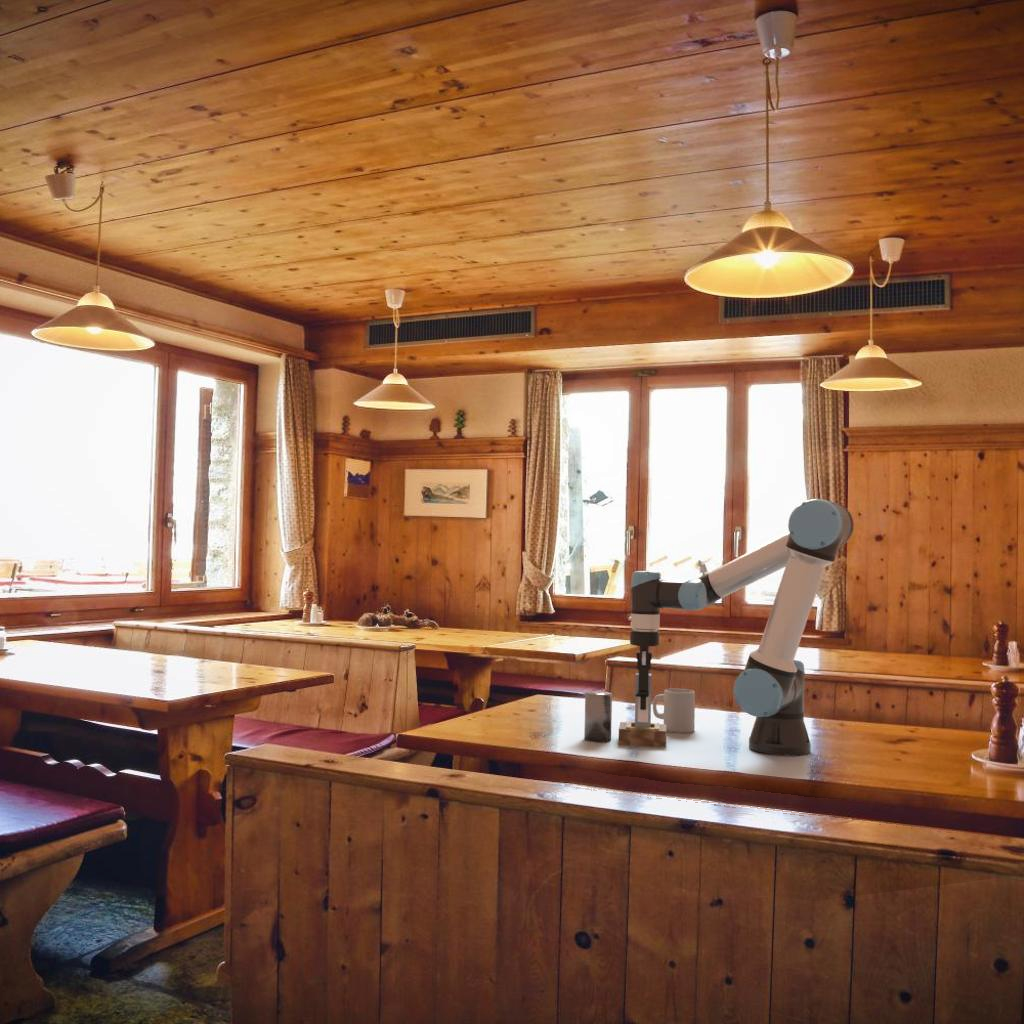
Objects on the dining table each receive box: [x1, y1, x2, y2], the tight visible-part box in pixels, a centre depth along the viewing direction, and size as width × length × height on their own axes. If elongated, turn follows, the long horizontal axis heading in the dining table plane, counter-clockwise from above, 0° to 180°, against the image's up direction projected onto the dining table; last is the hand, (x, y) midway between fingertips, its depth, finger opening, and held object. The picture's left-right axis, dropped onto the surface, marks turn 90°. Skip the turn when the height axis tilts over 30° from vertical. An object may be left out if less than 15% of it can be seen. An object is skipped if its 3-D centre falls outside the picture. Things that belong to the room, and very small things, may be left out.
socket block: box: [618, 720, 667, 748], centre depth 248 cm, size 12×10×4 cm
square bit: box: [634, 672, 652, 728], centre depth 248 cm, size 4×4×16 cm
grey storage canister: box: [583, 690, 613, 743], centre depth 250 cm, size 7×7×12 cm
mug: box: [652, 688, 696, 734], centre depth 267 cm, size 12×8×11 cm
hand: (643, 720), depth 248 cm, fingers closed on square bit, 4 cm apart
